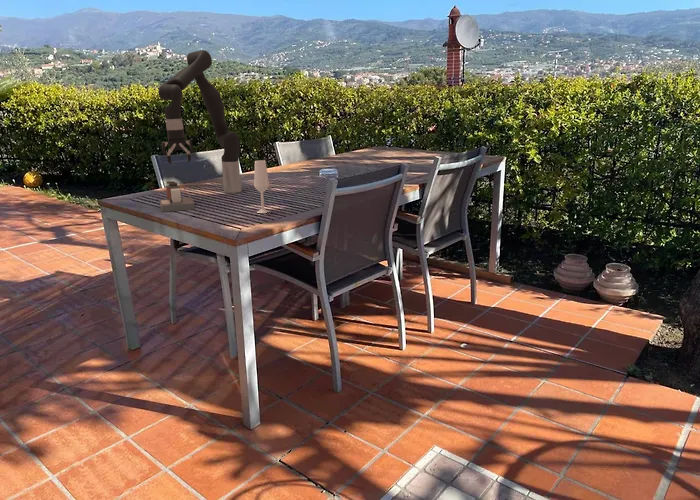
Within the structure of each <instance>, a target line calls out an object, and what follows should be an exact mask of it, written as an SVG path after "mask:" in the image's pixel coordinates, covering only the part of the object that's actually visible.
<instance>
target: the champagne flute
mask: <svg viewBox="0 0 700 500" xmlns="http://www.w3.org/2000/svg"><path fill="white" fill-rule="evenodd" d="M267 169H268V168H267V162H266V160H265V159H263V160H261V159H260V160H255V161H254V173H253V175H254V176H253V177H254V178H253V186H254V188H255V189H256V190H257V191H258V192H259V193H260V205H261V206H260V208H261V209H259V210H258V211H256V212H257V213H267V212H270V211H269V210H267V209H265V201H264V198H265V197H264V192H266V191H267V190H268V188H269V186H270V182H269V176H268V170H267Z"/></svg>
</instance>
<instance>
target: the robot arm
mask: <svg viewBox="0 0 700 500" xmlns="http://www.w3.org/2000/svg"><path fill="white" fill-rule="evenodd" d="M212 59H213V58H212V55H211V54H210V53H209V51H207V50H204V49H200V50H196V51H191V52H188V53H187V54H186V62H187V65H186V67H184V68H182V69H180V70H179V71H178V72H177V73H176V74H175V75H174V76H173V77H172V78H171V79H168V80H167V81H165V82H163V83H162V84H161V85H160V86H159V88H158V96H159V98H160V99H161V100H163V101H171V103H170V105H166V106H165V107H164V113H165V114H164V116H165V126H166V132H167V133H166V134H167V140H168V141H162V142H161V152H162V155H164V156H166V158H167V163H169V164H170V165H171V164H172V158H171V153H172V152H173V151H182V150H183V151H185V153H186V158H187V159H186V160H187V163H190V161H192V159H191V154H193V153H194V152H195V151H194V144H193V140H191V139H188V140H186V139H185V138H186V137H185V132H184V123H183V119H182V111H181V109H182V102H183V91H184V90H185V89H186V88H187V87H188V86H189V85H190V83H192V82H193V81H195V83H196V85H197V87H198V89H199V92H200V95H201V97H202V100H203V102H204V106H205V108H206V110H207V113H208V115H209V118H210V120H211V123H212V124H213V125H212V126H213V128H214V132H215V136H216V140H217V142H218V144H219V146H220V147H222V148H223V154H222V155H221V158H220V159H221V166H222V167H221V169H222V180H223V181H222V182H223V183H222V184H223V192H224V193H226V194H236V193H238V194H239V193H242V192H243V191H242V179H241V177H242V175H241V174H240V173H241V172H240V163H239V162H240V161H239V159H240V154H241V151H240V149H241V148H240V138H239V135H238V134H237V133H236V132H235V131H230V130H229V127H228V125H227V123H226V117H225V104H224V102H223V98H222V96H221V93H220V91H218V89H217V88H216V87H215V86H214V85H212V84H211V82H209V80H208V79H207V77H206V76H205V74H204V72H205V71H207V70H208V69H210V68H211V66H212V63H213V60H212ZM186 144H187V145H188V146H189V150H188V149H187V147H185V146H186ZM167 145H168V146H169V148H168V150H167V152H166V147H167Z"/></svg>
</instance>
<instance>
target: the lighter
mask: <svg viewBox="0 0 700 500" xmlns="http://www.w3.org/2000/svg"><path fill="white" fill-rule="evenodd" d="M166 184H167V185H165V189H166V197H167V198H166V199H172V196H171V189H177V188H179V189H180V190H181V186H180V185H178V181H175V180H172V181H171V180H167V181H166Z"/></svg>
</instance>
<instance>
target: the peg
mask: <svg viewBox="0 0 700 500" xmlns="http://www.w3.org/2000/svg"><path fill="white" fill-rule="evenodd" d="M171 196H172V203H178V202H181V198H182V196H181V188H180V189H179V188H177V189H171Z"/></svg>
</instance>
